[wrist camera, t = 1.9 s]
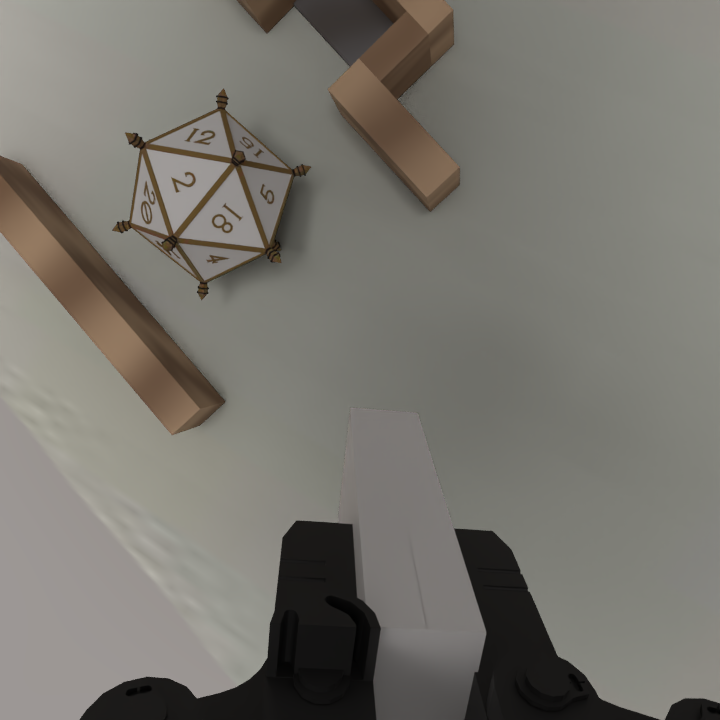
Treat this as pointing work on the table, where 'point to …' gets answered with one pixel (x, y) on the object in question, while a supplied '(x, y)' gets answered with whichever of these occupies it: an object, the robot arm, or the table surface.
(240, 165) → the game die
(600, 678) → the table surface
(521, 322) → the table surface
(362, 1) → the wooden blocks
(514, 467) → the table surface
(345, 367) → the table surface
